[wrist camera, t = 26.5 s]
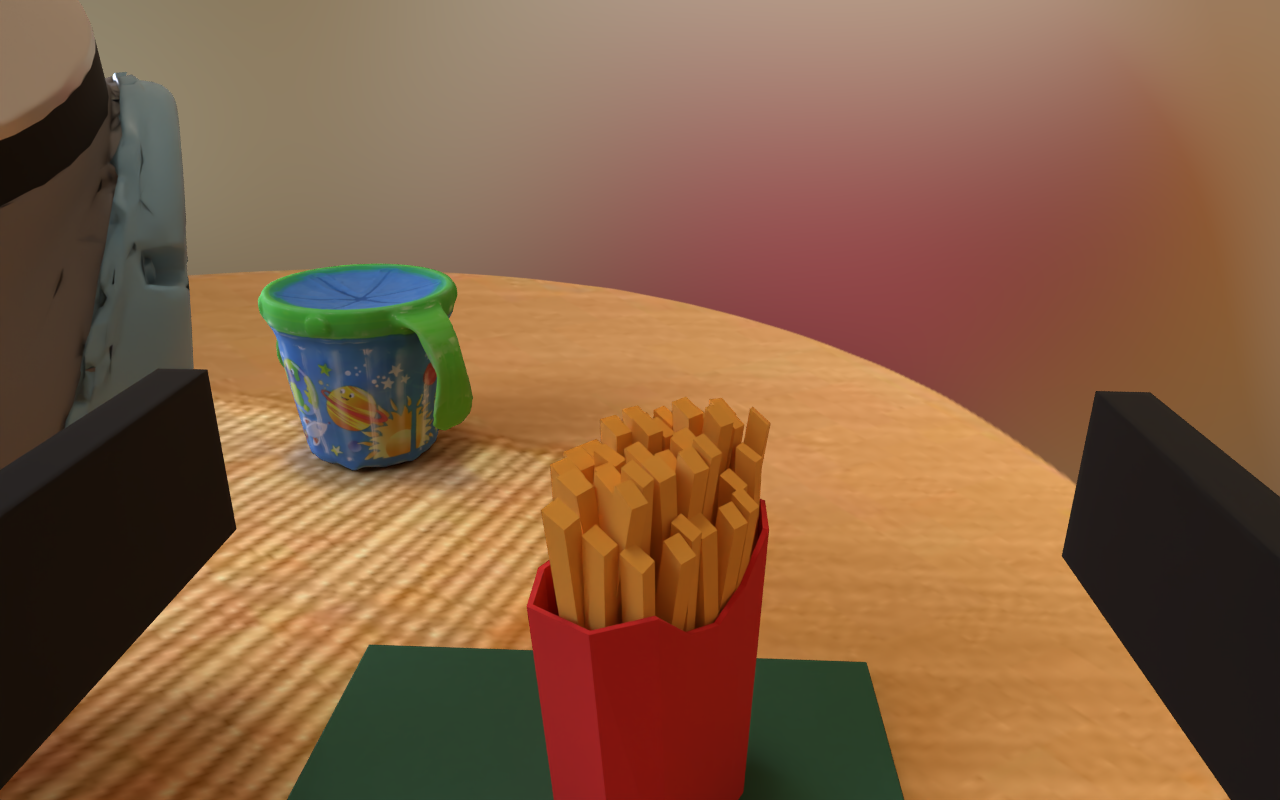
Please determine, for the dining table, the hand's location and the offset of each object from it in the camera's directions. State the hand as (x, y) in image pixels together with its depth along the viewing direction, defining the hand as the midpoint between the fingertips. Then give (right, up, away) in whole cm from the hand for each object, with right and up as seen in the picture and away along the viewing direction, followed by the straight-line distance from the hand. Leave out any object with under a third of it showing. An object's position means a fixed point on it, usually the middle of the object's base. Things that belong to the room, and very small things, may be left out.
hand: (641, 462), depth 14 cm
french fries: (+1, -12, +16) cm, 20 cm away
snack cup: (-16, -2, +42) cm, 45 cm away
